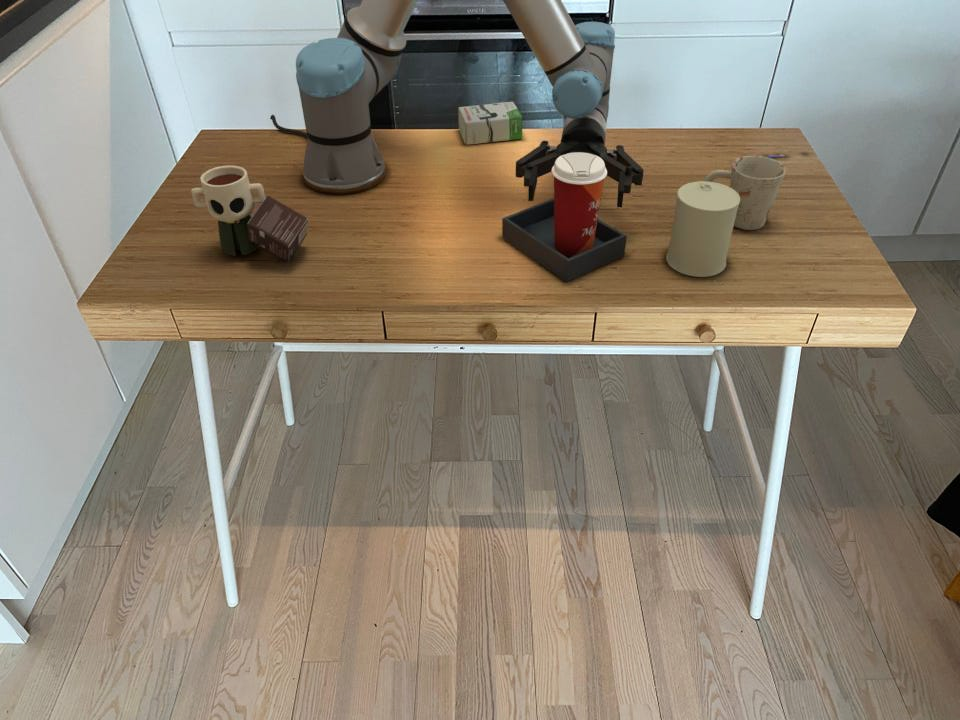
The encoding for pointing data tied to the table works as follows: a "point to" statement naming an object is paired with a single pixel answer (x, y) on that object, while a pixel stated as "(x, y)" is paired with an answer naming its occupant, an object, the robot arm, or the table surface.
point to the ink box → (490, 123)
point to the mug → (753, 188)
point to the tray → (537, 241)
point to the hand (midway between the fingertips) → (575, 196)
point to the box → (277, 228)
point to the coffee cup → (576, 201)
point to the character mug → (230, 205)
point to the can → (702, 228)
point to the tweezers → (775, 156)
